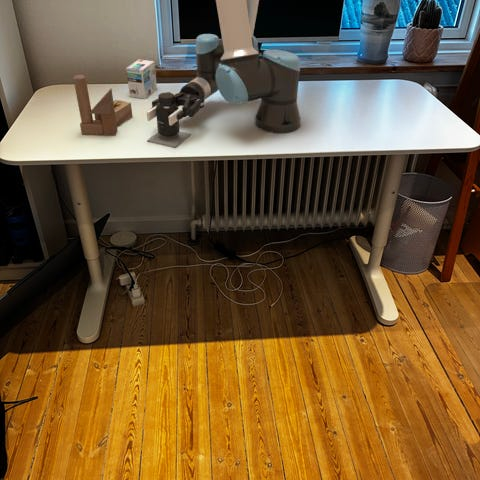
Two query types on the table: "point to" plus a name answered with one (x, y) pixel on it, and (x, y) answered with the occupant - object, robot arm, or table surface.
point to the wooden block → (95, 110)
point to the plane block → (120, 112)
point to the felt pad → (169, 139)
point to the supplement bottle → (166, 115)
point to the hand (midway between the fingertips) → (159, 118)
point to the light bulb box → (141, 78)
